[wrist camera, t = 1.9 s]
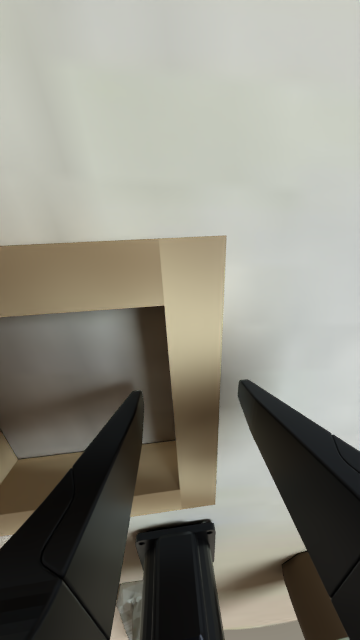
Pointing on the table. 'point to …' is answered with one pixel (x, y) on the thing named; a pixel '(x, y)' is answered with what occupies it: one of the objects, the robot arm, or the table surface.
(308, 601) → the beer bottle
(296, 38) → the table surface
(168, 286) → the oak loop
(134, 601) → the packaged product
